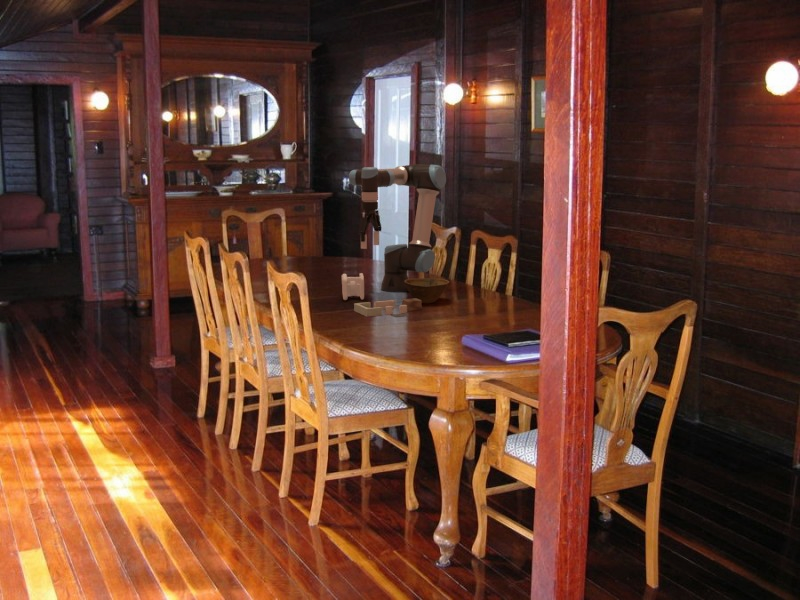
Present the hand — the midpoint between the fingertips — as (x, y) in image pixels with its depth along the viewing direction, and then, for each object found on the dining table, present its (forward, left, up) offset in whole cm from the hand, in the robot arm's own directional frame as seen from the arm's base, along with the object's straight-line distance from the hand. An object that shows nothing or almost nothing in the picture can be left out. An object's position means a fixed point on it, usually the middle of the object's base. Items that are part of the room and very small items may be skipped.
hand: (370, 246), depth 430 cm
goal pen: (+9, +19, -27) cm, 34 cm away
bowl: (-27, +5, -28) cm, 39 cm away
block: (-13, +19, -27) cm, 35 cm away
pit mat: (-2, +29, -27) cm, 40 cm away
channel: (-2, +19, -27) cm, 33 cm away
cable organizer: (+2, -17, -28) cm, 32 cm away
